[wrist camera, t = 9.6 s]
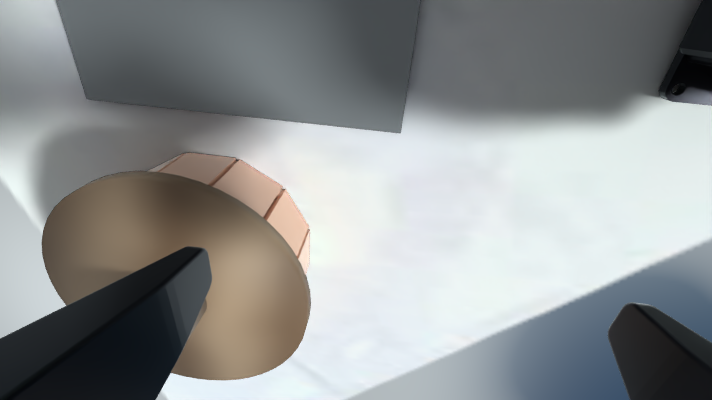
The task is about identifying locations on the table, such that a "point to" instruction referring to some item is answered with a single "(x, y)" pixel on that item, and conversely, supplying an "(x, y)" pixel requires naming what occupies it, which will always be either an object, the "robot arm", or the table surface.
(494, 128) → the table surface
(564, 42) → the table surface
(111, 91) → the mat
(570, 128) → the table surface
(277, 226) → the bowl
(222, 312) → the lid
